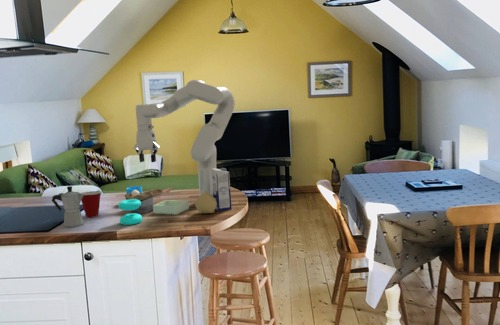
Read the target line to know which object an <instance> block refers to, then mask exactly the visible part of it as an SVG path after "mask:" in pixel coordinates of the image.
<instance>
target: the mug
mask: <svg viewBox="0 0 500 325" xmlns="http://www.w3.org/2000/svg"><path fill="white" fill-rule="evenodd" d="M133 190H137V191H139V193H143V186H140V185H138V186H137V185H136V186H135V185H134V186H129V187H126V190H125V191H126V194H129V193H132V191H133ZM139 201H140V200H139Z"/></svg>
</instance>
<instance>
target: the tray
mask: <svg viewBox="0 0 500 325" xmlns="http://www.w3.org/2000/svg"><path fill="white" fill-rule="evenodd" d="M188 210H190V202H189V201H188V200H173V199H171V200H170V199H164V200H162V201H161V202H158V203H155V204H153V210H152V211H153V214H155V215H170V216H171V214H172V215H173V216H177V215H180V214H181V213H184V212H186V211H188Z"/></svg>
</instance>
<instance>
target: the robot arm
mask: <svg viewBox="0 0 500 325" xmlns="http://www.w3.org/2000/svg"><path fill="white" fill-rule="evenodd" d="M196 100H199V101H201V102H205V103H207V104H210V105H217V106H216V108H215V110H214V112H213V115H212V116H211V119H210V120H209V122H208V123H205V124H204V125H202V127H200V129H199V131H198V133H197V135H196V137H195V140H194V142H193V144H192V145H191V148H190V156H191V158H192V159H193V161H195V162H197V174H198V175H197V176H198V177H197V178H198V188H199V189H198V190H199V191H198V192H199V196H200V195H201V194H202V193H203V192H208V193H210V194H212V195H213V184H212V170H211V168H214V169H217V146H216V145H215V143H216V141H218V140H221V139H222V137H223V135H224V132H225V130H226V128H227V126H228V124H229V121H230V120H231V117H232V115H233V112H234V110H235V106H236V104H235V102H236V101H235V97H234V95H233V93H232V92H231V90H230V89H229V88H227V87H225V86H213V85H210V84H208V83H206V82H205V81H204V80H202V79H192V80H190V81H188V82H187V83H186V84H185V85H184V86H183V87H181V88H179V89H177V90H175V91H174V92H173V95H171V96H170V97H169V98H166V99H165V100H162V101H160V102H156V103H155V102H154V103H150V104H148V103H143V104H136V105H135V115H136V129H137V131H136V137H135V138H136V143H135V145H134V146H133V149H134V150H135V152H136V153H137V155H138V157H139V163H144V162H145V155H144V151H146V150H147V151H149V152H150V162H151V163H154V162H155V163H156V160H157V158H156V155H157V154H158V151H159V150H160V149H161V148H160V145H159V144H157V137H156V133H155V131H154V125H153V123H152V119H158V118H164V117H166V116H168V115H170V114H172V113H174V112H175V111H178V110H179V109H181V108H183V107H184V106H186V105H189V104H190V103H192V102H194V101H196Z"/></svg>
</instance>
